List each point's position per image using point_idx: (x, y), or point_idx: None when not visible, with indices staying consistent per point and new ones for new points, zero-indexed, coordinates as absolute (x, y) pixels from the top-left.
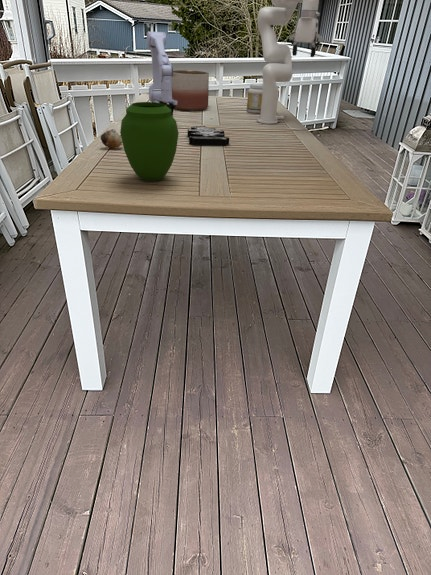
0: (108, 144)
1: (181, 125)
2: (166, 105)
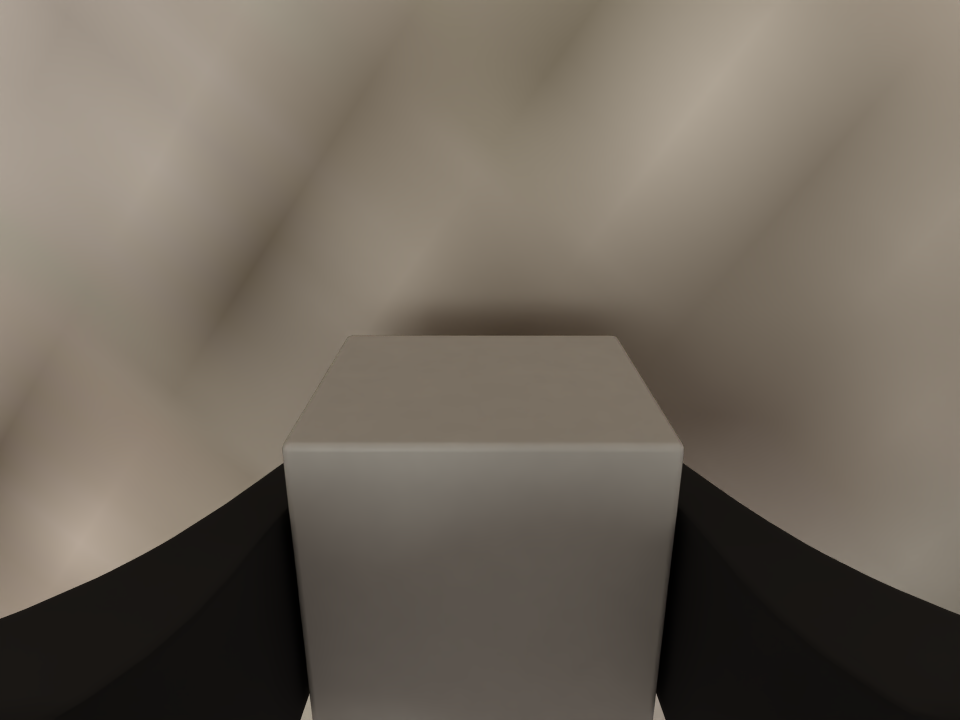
0: None
1: None
2: (14, 712)
